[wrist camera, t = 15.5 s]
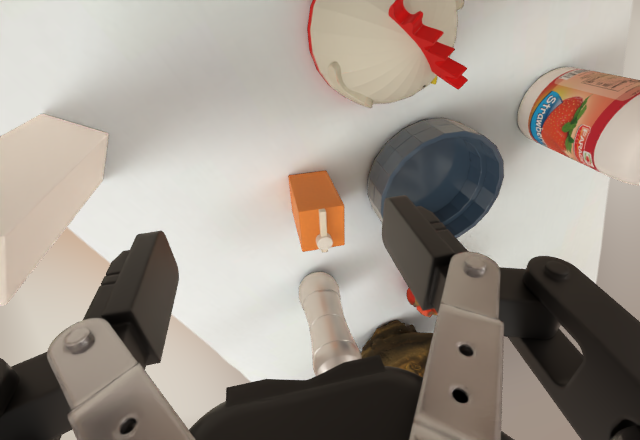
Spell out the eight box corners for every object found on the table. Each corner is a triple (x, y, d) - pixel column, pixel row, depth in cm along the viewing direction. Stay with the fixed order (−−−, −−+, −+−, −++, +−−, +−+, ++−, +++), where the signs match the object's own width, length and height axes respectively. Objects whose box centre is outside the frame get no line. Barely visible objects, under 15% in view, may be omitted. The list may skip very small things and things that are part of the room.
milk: (109, 132, 35) (-27, 271, 17) (103, 181, 37) (-21, 345, 20) (40, 112, 32) (-205, 247, 15) (38, 165, 35) (-170, 335, 17)
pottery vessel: (344, 376, 70) (375, 488, 54) (320, 354, 64) (347, 472, 48) (449, 323, 67) (515, 424, 51) (435, 294, 61) (505, 399, 45)
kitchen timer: (367, 123, 40) (423, 176, 28) (280, 37, 33) (302, 57, 21) (457, 25, 36) (569, 37, 24) (378, -96, 29) (479, -168, 17)
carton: (288, 175, 42) (299, 217, 33) (326, 170, 42) (346, 209, 34) (292, 211, 45) (303, 257, 37) (327, 206, 45) (346, 250, 37)
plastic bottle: (334, 262, 52) (377, 383, 35) (336, 292, 55) (375, 413, 39) (294, 270, 51) (319, 397, 34) (298, 300, 55) (323, 426, 38)
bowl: (367, 123, 40) (385, 140, 35) (487, 110, 42) (520, 124, 37) (364, 230, 49) (377, 255, 44) (462, 214, 51) (486, 236, 46)
